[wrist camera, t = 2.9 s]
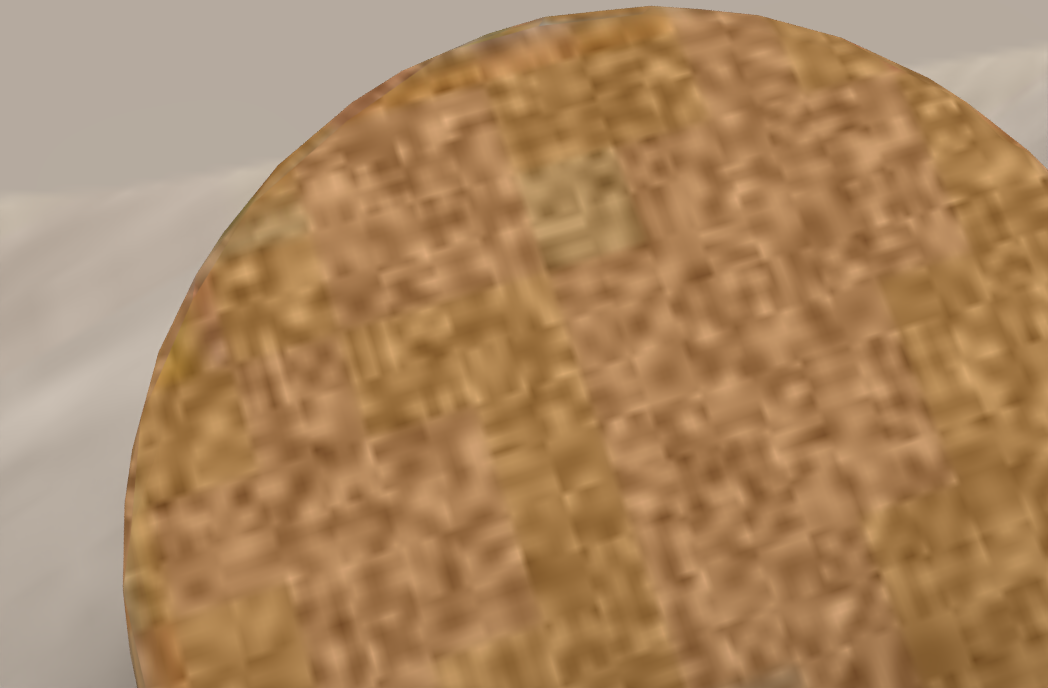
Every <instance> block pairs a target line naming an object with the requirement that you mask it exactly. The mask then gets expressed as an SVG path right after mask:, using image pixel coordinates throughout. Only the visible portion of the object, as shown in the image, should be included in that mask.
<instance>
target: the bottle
mask: <svg viewBox="0 0 1048 688" xmlns="http://www.w3.org/2000/svg"><path fill="white" fill-rule="evenodd" d="M123 595H124V603H125V612H126V621H127V630H128V639H129V648H130V655H131V660H132V664H133V669H134V674H135V679H136V683H137V688H1048V170H1047V169H1046V168H1045V167H1044V166H1043V165H1042V164H1041V163H1040V162H1039V161H1038V160H1037V159H1036V158H1035V157H1034V156H1033V155H1032V154H1031V153H1030V152H1029V151H1028V150H1027V149H1025V148H1024V147H1023V146H1022V145H1020V144H1019V143H1018V142H1017V141H1015V140H1014V139H1013V138H1012V137H1010V136H1009V135H1008V134H1006V133H1005V132H1004V131H1003V130H1001V129H1000V128H999V127H998V126H996V125H995V124H994V123H993V122H991V121H990V120H989V119H988V118H986V117H985V116H984V115H982V114H981V113H980V112H978V111H977V110H976V109H975V108H973V107H972V106H971V105H969V104H968V103H967V102H965V101H964V100H962V99H960V98H959V97H957V96H956V95H954V94H953V93H951V92H950V91H948V90H946V89H945V88H943V87H942V86H940V85H939V84H937V83H936V82H934V81H932V80H931V79H929V78H927V77H925V76H923V75H921V74H919V73H916V72H914V71H912V70H910V69H908V68H906V67H903V66H901V65H899V64H897V63H895V62H893V61H890V60H888V59H886V58H884V57H882V56H880V55H877V54H875V53H873V52H871V51H869V50H867V49H864V48H862V47H860V46H858V45H856V44H854V43H851V42H849V41H847V40H845V39H843V38H840V37H836V36H833V35H829V34H825V33H822V32H818V31H814V30H810V29H807V28H803V27H800V26H796V25H792V24H789V23H785V22H781V21H777V20H773V19H770V18H766V17H763V16H759V15H750V14H741V13H731V12H722V11H712V10H702V9H689V8H674V7H660V6H645V7H635V8H625V9H615V10H606V11H595V12H586V13H577V14H568V15H558V16H549V17H543V18H540V19H536V20H533V21H530V22H526V23H523V24H519V25H516V26H513V27H509V28H506V29H503V30H499V31H496V32H492V33H489V34H486V35H484V36H482V37H479V38H477V39H475V40H473V41H470V42H468V43H466V44H463V45H461V46H459V47H456V48H454V49H452V50H449V51H447V52H445V53H442V54H440V55H438V56H435V57H433V58H431V59H428V60H426V61H424V62H422V63H419V64H417V65H415V66H412V67H410V68H408V69H406V70H403V71H401V72H400V73H398V74H397V75H395V76H393V77H392V78H390V79H389V80H387V81H385V82H384V83H382V84H381V85H379V86H378V87H376V88H374V89H373V90H371V91H370V92H368V93H366V94H365V95H363V96H362V97H360V98H358V99H357V100H355V101H354V102H352V103H351V104H350V105H348V106H347V107H346V108H345V109H344V110H343V111H341V112H340V113H339V114H338V115H337V116H336V117H334V118H333V119H332V120H331V121H330V122H329V123H327V124H326V125H325V126H324V127H323V128H321V129H320V130H319V131H318V132H317V133H316V134H314V135H313V136H312V137H311V138H310V139H309V140H307V141H306V142H305V143H304V144H303V145H301V146H300V147H299V148H298V149H297V150H296V151H294V152H293V153H292V154H291V155H290V156H289V157H287V158H286V159H285V160H284V161H283V162H281V163H280V164H279V165H278V166H277V167H276V169H275V170H274V171H273V172H272V173H271V175H270V176H269V177H268V178H267V180H266V181H265V182H264V183H263V185H262V186H261V187H260V188H259V189H258V191H257V192H256V193H255V194H254V196H253V197H252V198H251V199H250V201H249V202H248V203H247V204H246V206H245V207H244V208H243V209H242V210H241V212H240V213H239V214H238V215H237V217H236V218H235V219H234V220H233V222H232V223H231V224H230V225H229V227H228V228H227V229H226V230H225V231H224V233H223V234H222V236H221V237H220V239H219V240H218V242H217V243H216V245H215V246H214V248H213V250H212V251H211V253H210V254H209V256H208V257H207V259H206V260H205V262H204V263H203V265H202V267H201V268H200V270H199V271H198V273H197V274H196V276H195V278H194V280H193V282H192V284H191V286H190V289H189V291H188V293H187V295H186V297H185V299H184V301H183V303H182V305H181V307H180V309H179V311H178V313H177V315H176V317H175V320H174V322H173V324H172V326H171V328H170V330H169V332H168V334H167V336H166V338H165V340H164V342H163V344H162V346H161V348H160V350H159V353H158V356H157V360H156V364H155V368H154V371H153V375H152V379H151V382H150V386H149V390H148V393H147V397H146V401H145V404H144V408H143V412H142V415H141V419H140V423H139V427H138V430H137V434H136V438H135V442H134V445H133V449H132V455H131V462H130V469H129V477H128V484H127V491H126V498H125V514H124V566H123Z"/></svg>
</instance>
